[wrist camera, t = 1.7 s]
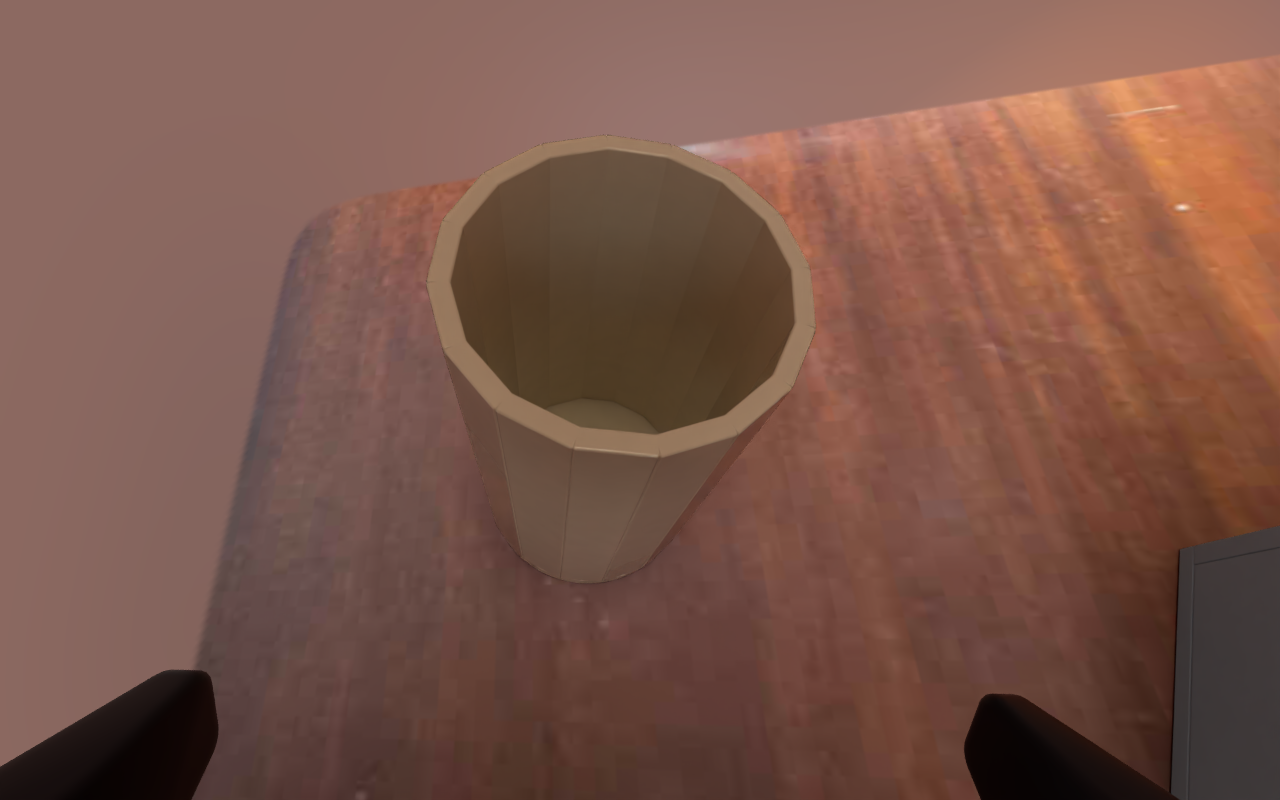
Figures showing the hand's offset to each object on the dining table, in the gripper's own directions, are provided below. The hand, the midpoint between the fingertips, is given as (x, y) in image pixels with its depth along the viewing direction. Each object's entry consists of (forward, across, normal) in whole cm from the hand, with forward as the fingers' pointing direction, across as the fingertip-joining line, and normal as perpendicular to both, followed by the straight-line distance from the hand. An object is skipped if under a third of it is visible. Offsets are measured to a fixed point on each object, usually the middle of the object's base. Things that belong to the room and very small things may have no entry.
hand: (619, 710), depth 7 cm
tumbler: (+14, 0, +4) cm, 15 cm away
